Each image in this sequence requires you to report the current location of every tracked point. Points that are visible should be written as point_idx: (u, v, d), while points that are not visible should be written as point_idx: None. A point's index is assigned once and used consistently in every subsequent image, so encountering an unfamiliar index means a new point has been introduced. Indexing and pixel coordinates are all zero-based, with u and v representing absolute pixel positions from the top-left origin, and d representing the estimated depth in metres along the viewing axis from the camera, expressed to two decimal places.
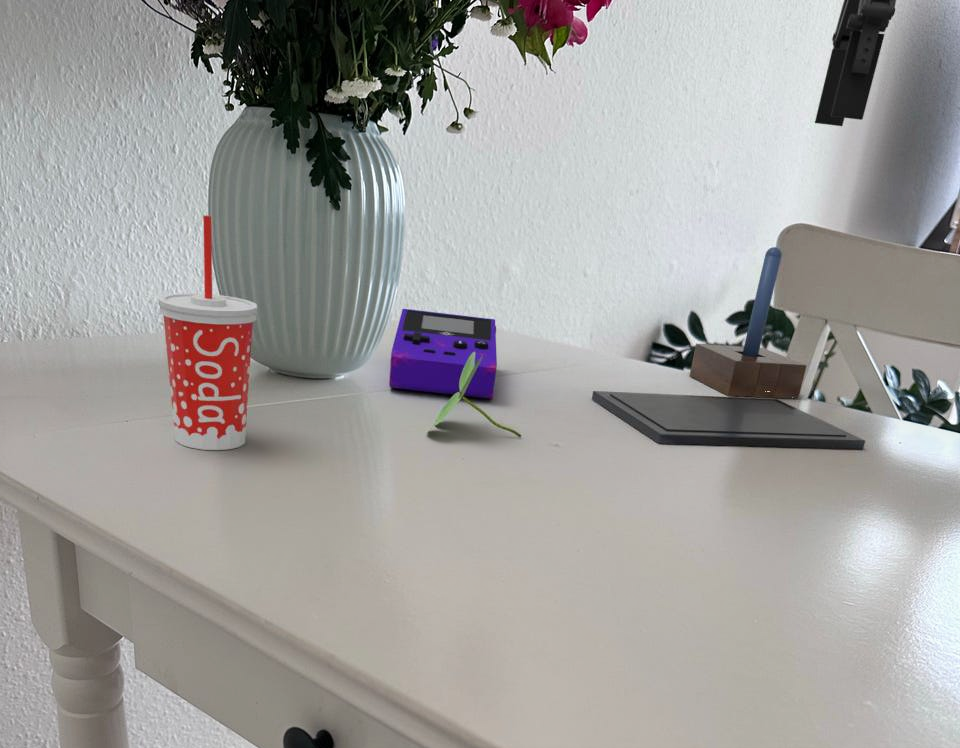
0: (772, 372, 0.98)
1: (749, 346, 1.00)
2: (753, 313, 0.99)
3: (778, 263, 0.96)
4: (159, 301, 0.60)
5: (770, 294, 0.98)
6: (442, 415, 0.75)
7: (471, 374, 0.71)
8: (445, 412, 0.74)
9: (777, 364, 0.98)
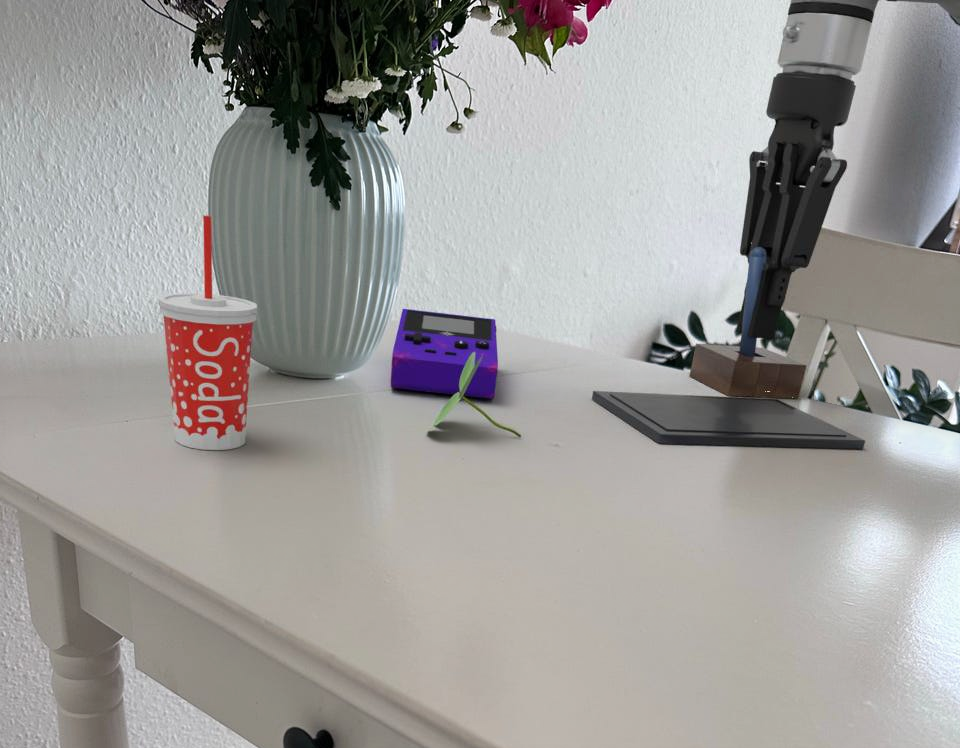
0: (772, 372, 0.98)
1: (745, 347, 1.00)
2: (745, 314, 0.99)
3: (763, 262, 0.96)
4: (159, 301, 0.60)
5: None
6: (442, 415, 0.75)
7: (471, 374, 0.71)
8: (445, 412, 0.74)
9: (777, 364, 0.98)
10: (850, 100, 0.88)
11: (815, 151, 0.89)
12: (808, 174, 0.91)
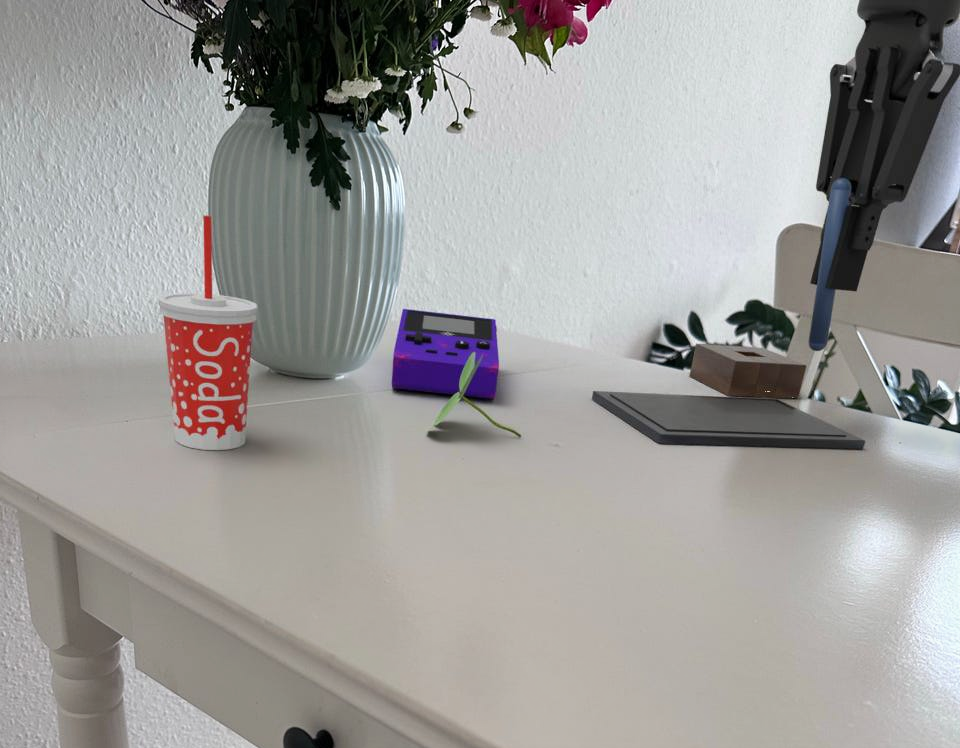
0: (772, 372, 0.98)
1: (821, 301, 0.84)
2: (822, 261, 0.82)
3: None
4: (159, 301, 0.60)
5: None
6: (442, 415, 0.75)
7: (471, 374, 0.71)
8: (445, 412, 0.74)
9: (777, 364, 0.98)
10: None
11: (920, 54, 0.72)
12: (909, 85, 0.74)
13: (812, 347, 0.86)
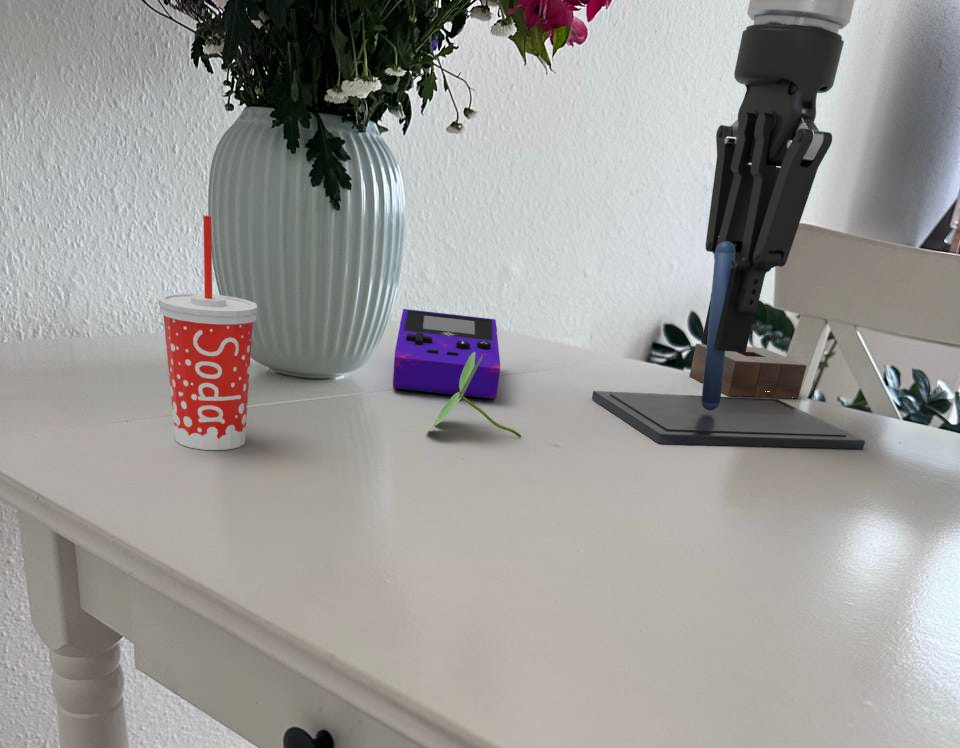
0: (772, 372, 0.98)
1: (710, 362, 0.83)
2: (710, 323, 0.82)
3: (732, 260, 0.79)
4: (159, 301, 0.60)
5: None
6: (442, 415, 0.75)
7: (471, 374, 0.71)
8: (445, 412, 0.74)
9: (777, 364, 0.98)
10: (836, 59, 0.72)
11: (793, 122, 0.72)
12: (785, 151, 0.74)
13: (705, 406, 0.85)
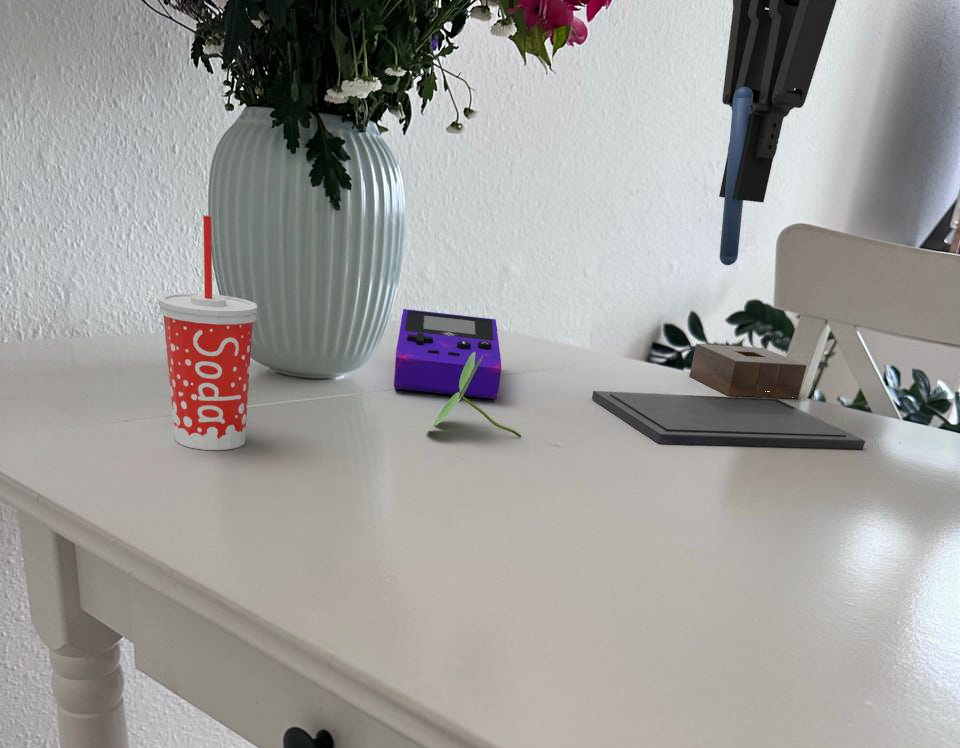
0: (772, 372, 0.98)
1: (729, 213, 0.84)
2: (728, 172, 0.83)
3: None
4: (159, 301, 0.60)
5: None
6: (442, 415, 0.75)
7: (471, 374, 0.71)
8: (445, 412, 0.74)
9: (777, 364, 0.98)
10: None
11: None
12: None
13: (723, 261, 0.86)
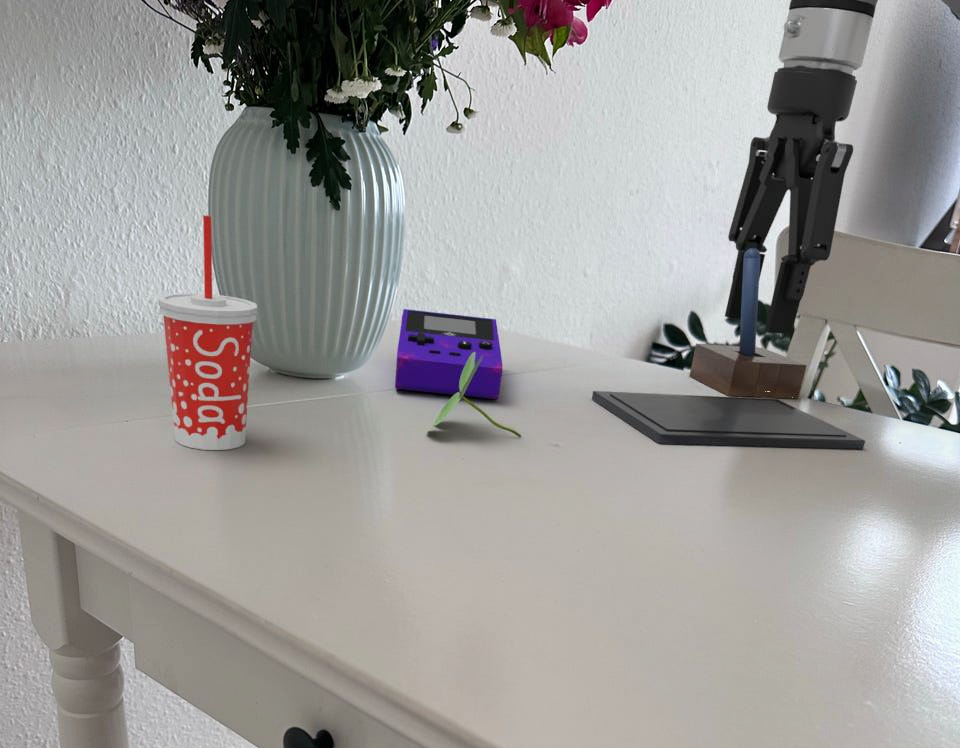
0: (772, 372, 0.98)
1: (744, 348, 1.00)
2: (742, 315, 0.99)
3: (758, 263, 0.96)
4: (159, 301, 0.60)
5: (755, 294, 0.97)
6: (442, 415, 0.75)
7: (471, 374, 0.71)
8: (445, 412, 0.74)
9: (777, 364, 0.98)
10: (851, 95, 0.88)
11: (816, 146, 0.88)
12: (809, 169, 0.91)
13: None
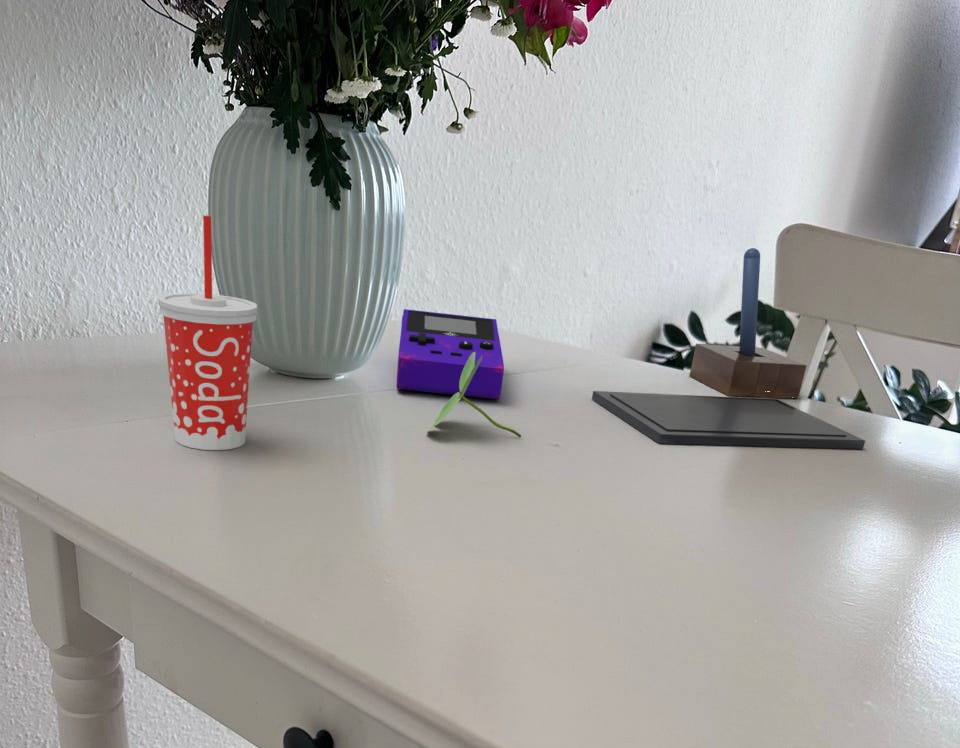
0: (772, 372, 0.98)
1: (744, 348, 1.00)
2: (742, 315, 0.99)
3: (758, 263, 0.96)
4: (159, 301, 0.60)
5: (755, 294, 0.97)
6: (442, 415, 0.75)
7: (471, 374, 0.71)
8: (445, 412, 0.74)
9: (777, 364, 0.98)
10: None
11: None
12: None
13: None
